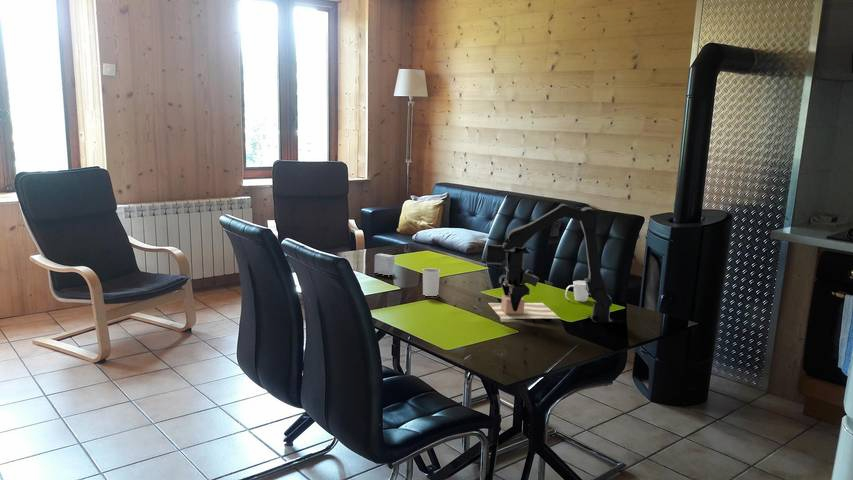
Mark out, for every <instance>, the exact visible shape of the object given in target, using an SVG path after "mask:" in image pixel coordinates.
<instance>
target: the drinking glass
mask: <svg viewBox="0 0 853 480" xmlns="http://www.w3.org/2000/svg"><path fill="white" fill-rule="evenodd" d="M440 274H441V270H440V269H438V268H431V267H430V268H429V267H428V268H423V269H422V296H423V295H425V296H437V295H438V296H439V289H440V288H439V287H440V286H439V285H440V276H441V275H440ZM425 296H424V297H425ZM438 296H437V297H438Z"/></svg>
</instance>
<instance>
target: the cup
mask: <svg viewBox="0 0 853 480" xmlns="http://www.w3.org/2000/svg"><path fill="white" fill-rule="evenodd" d="M569 288H573V296H574V297H573V298H574V300H575V301H576V302H582V303H584V302H587V301H588V298H589V296H590V294H588V292H587V291H586V289H585V288H586V283H585V280H574V281H573V282H572V284H570V285H568V286H567V287H566V288H565V293H564V296H565V298H566V299H567V300H568V301H570V302H571V301H572V300H571V299H570V298H569V297H568V290H569Z"/></svg>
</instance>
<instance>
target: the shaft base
mask: <svg viewBox="0 0 853 480" xmlns="http://www.w3.org/2000/svg"><path fill="white" fill-rule="evenodd" d="M487 304H488V305H489V306H490V308H492V310H493V311H494V312H495V313H496V314H497V315H498V316H497V319H498V320H499V321H500V323H519V322H520V323H521V322H524V323H527V322H528V321H527V320H521V319H561V317H560V316H559V315H558V314H557V313H555V312H554V311H553V310H552V309H550V308H549V307H548V306H547V305H546V304H544V302H524V314H506V313H505V312H504V311H503V310H502V309H501V304H502V302H487ZM518 319H519V320H518Z"/></svg>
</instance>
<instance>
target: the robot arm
mask: <svg viewBox="0 0 853 480" xmlns="http://www.w3.org/2000/svg"><path fill="white" fill-rule="evenodd" d="M563 218H568V219H572V220H575V221H579V224H580V227H581V229H582V232H583V234H584V242H585V249H586V250H585V251H586V259H587V268H588V278H587V277H586V278H584V281H585V283H586V288H585V289H586V291H587V292H588V294H589V296H590V297H591V299H592V300H593V305H592V306H593V307H592V316H591V315H590V316H588V319H589V320H591V321H592V322H594V323H595V324H596V323H597V324H600V323H601V324H602V323H603V324H604V323H610V324H611V323H613V322H614V321H613V320H612V319H611V318H610V315H611V314H610V311H611V307H612V305H613V302H614V300H613V299H612V298H611V296H610V295H609V294H608V291H607V288H606V283H605V281H604V278H603V276H602V271H601V263H600V255H599V248H598V239H597V233H598V232H597V230H598V226H599V225H598V220H599V219H598V218H599V216H598V213H597V212H596V210H594V209H592V207H589V206H584V207H583V208H581V207H578V206H571V205H567V204H565V203H561V204H559V205H558V206H557V207H555V208H554V209H552V210H550V211H548V212H547V213H546V214H544V215H542V216H540V217H539V218H537V219H534V220H533V221H531V222H530V223H527V224H524V225H521V226H518V227H515V228H512V229H511V230H510V231H509V233H508V235H507V238H506V240H505V241H504V242H503V243H502V245H501V244H498V245H497V244H492V243H490V244H489V243H488V244H487V245H486V246H487V247H486V255H485V264H487V265H488V264H489V265H502V264H503V263H505V262H506V266H504V269H505V270H506V271H505V272H506V274H502V275H500V276H499V277H498V278H499V279H498V283H499V284H500V287H501V290H502V291H503V295H509V297H510V300H511V304H512V307H513V311H517V309H518V306H519V303H520V301H521V298H524V297H525V296H528V295H530V291H531V290H530V288H529V286H527V285H526V284H528V285H532V286H533V287H537V285H538V282H539V281H540V278H539V277H538V276H536V275H535V274H533V271H532V270H530V269H525V268H524V261H525V259H524V257H525V254H530V253H531V252H530V250H529V249H528V248H527V245H525V244H526V243H527V242H529V241H530V240H531V238H532V237H534V236H535V235H536V234H537V233H539V232H541V231H543V230H544V229H546V228H548V227H550V226H551V225H553V224H554V223H556V222H558V221H560V220H562V219H563ZM506 253H507V256H506ZM506 257H507V258H506Z"/></svg>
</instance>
